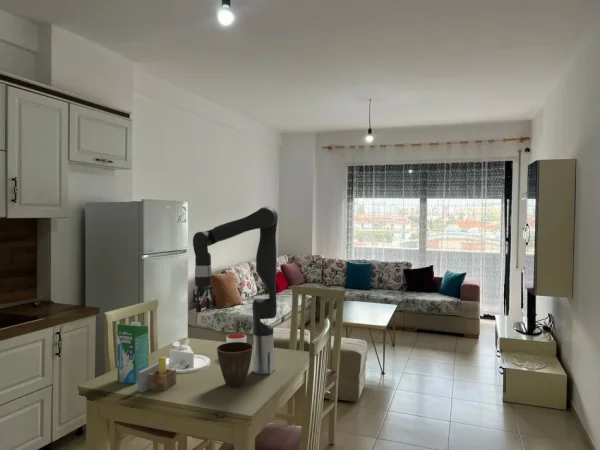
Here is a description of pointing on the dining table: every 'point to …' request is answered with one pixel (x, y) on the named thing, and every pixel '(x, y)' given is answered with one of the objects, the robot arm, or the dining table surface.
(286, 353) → the dining table surface
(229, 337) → the cup
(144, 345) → the milk carton
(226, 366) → the plant pot
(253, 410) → the dining table surface
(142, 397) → the dining table surface
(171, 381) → the brown wooden open box
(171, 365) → the dish
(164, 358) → the dowel
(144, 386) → the wall
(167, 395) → the dining table surface
